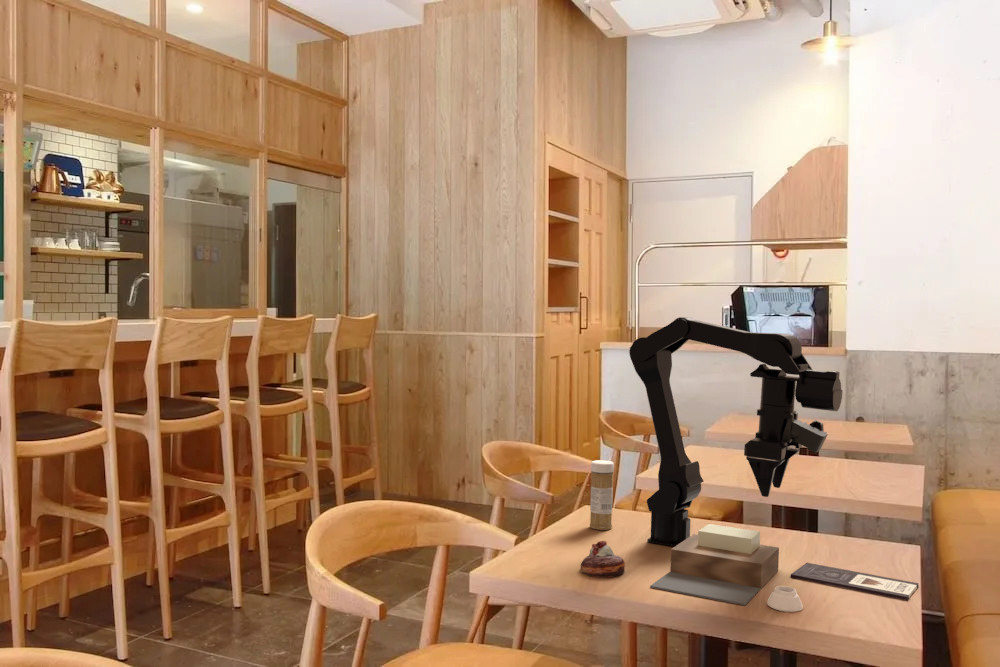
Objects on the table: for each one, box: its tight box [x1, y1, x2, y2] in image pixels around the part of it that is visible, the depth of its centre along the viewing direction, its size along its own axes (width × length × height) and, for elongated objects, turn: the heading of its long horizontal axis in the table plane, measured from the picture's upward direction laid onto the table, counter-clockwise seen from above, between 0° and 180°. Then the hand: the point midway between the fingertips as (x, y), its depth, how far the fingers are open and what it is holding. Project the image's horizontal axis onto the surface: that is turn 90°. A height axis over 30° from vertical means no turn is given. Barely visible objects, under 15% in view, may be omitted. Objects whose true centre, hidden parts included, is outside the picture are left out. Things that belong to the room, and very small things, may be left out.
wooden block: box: [669, 533, 780, 590], centre depth 149 cm, size 15×12×4 cm
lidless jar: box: [766, 585, 804, 613], centre depth 132 cm, size 5×3×5 cm
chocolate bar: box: [790, 562, 919, 601], centre depth 146 cm, size 9×1×18 cm
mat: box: [649, 571, 761, 606], centre depth 140 cm, size 15×9×1 cm, turn 60°
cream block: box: [697, 523, 761, 554], centre depth 151 cm, size 9×6×2 cm, turn 60°
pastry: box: [579, 540, 626, 578], centre depth 148 cm, size 8×8×5 cm
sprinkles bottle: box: [589, 459, 615, 531], centre depth 177 cm, size 5×5×14 cm
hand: (771, 491), depth 156 cm, fingers open, 9 cm apart
